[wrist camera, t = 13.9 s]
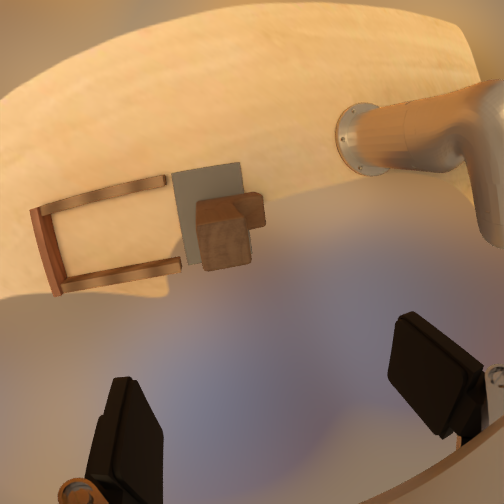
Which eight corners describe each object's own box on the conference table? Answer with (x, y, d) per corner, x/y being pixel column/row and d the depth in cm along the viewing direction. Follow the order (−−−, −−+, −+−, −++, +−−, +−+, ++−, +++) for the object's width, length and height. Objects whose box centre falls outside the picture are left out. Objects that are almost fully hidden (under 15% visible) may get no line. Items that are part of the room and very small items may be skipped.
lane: (164, 174, 40) (161, 175, 36) (181, 265, 44) (180, 274, 41) (41, 206, 37) (29, 209, 34) (62, 287, 42) (53, 296, 38)
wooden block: (256, 191, 43) (295, 208, 26) (259, 220, 44) (300, 255, 27) (195, 201, 42) (194, 225, 25) (200, 231, 43) (203, 273, 26)
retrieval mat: (239, 162, 42) (239, 162, 41) (251, 252, 46) (252, 253, 46) (171, 173, 40) (171, 173, 40) (188, 264, 45) (188, 265, 44)
